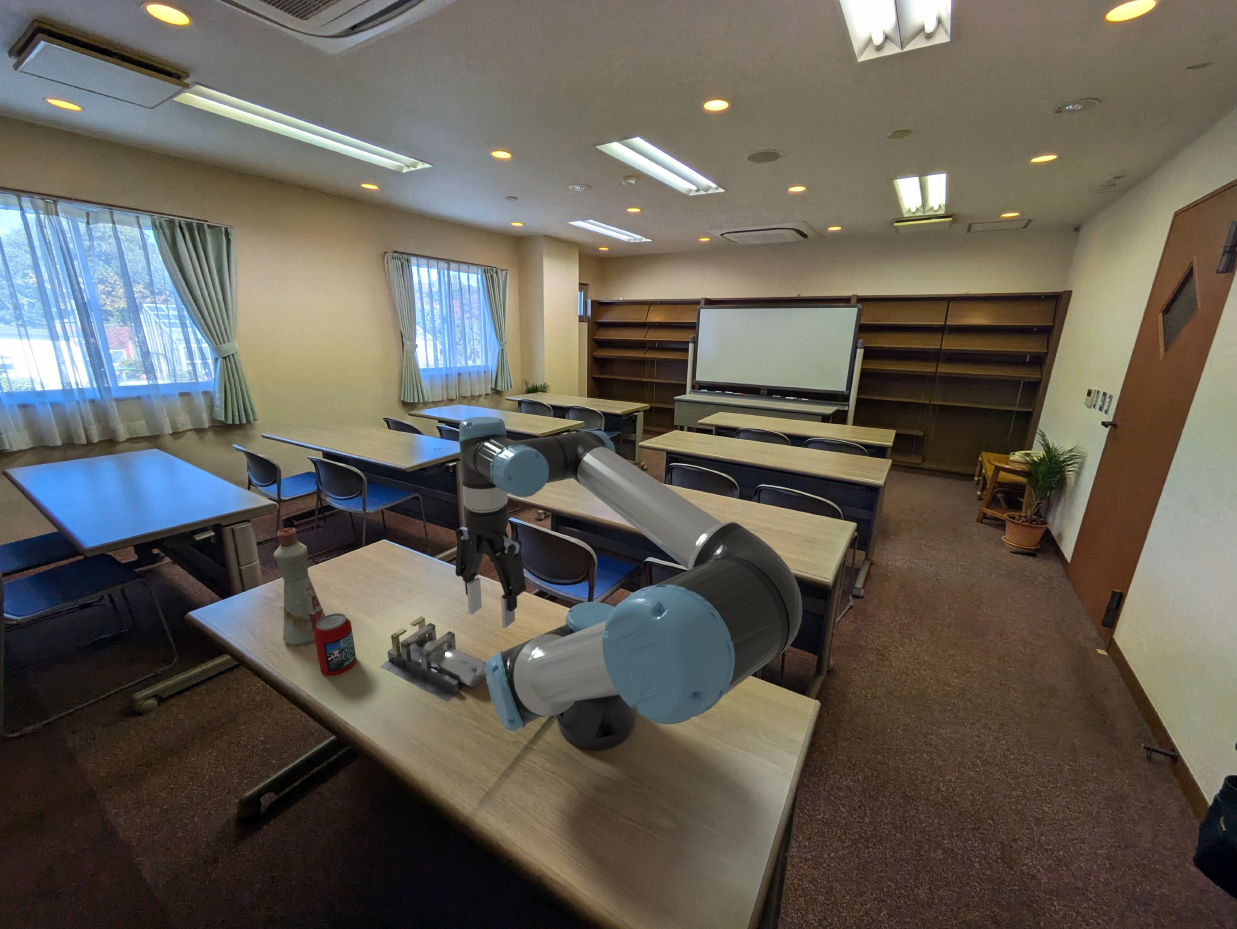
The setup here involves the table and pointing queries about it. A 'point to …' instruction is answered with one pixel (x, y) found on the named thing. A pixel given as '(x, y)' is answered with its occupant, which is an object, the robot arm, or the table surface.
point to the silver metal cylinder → (457, 665)
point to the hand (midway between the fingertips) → (491, 616)
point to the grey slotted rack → (422, 660)
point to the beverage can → (334, 644)
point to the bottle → (297, 590)
